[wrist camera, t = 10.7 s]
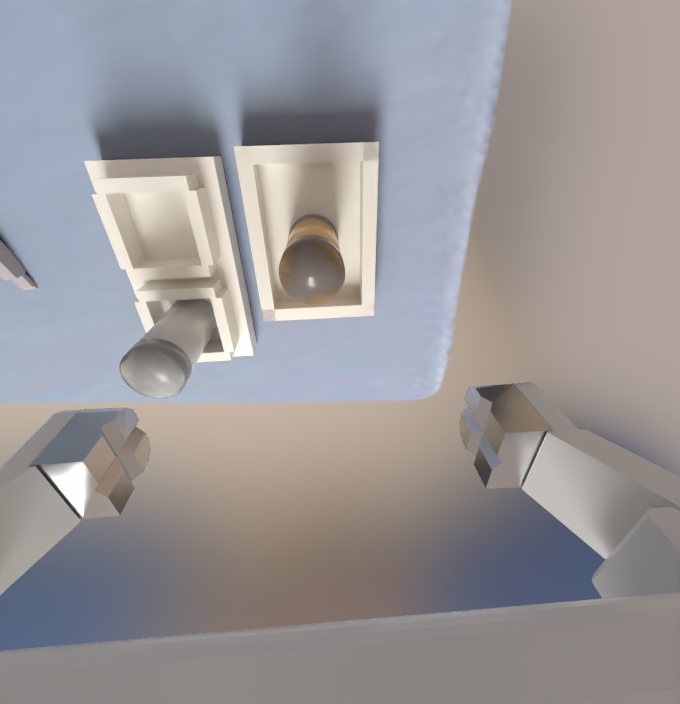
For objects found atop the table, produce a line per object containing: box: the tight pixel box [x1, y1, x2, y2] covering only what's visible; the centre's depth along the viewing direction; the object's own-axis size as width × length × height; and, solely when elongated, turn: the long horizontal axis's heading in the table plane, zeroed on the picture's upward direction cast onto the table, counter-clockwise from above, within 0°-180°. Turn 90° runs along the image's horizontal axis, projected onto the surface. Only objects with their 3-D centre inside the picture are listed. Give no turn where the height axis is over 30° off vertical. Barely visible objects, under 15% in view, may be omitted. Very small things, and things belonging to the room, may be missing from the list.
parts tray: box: [234, 142, 379, 321], centre depth 24 cm, size 12×9×2 cm
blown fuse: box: [279, 214, 345, 305], centre depth 21 cm, size 4×4×8 cm
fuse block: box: [84, 156, 257, 399], centre depth 22 cm, size 15×8×10 cm, turn 2°
